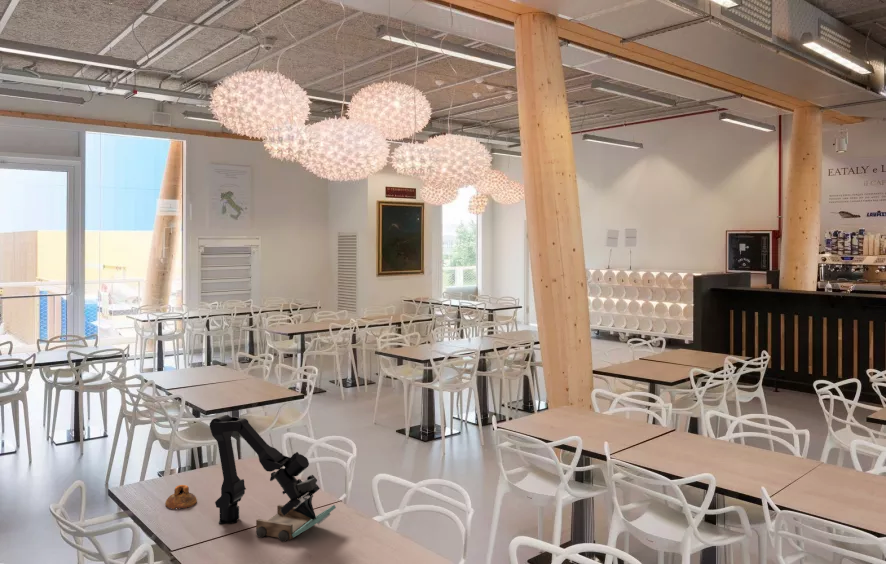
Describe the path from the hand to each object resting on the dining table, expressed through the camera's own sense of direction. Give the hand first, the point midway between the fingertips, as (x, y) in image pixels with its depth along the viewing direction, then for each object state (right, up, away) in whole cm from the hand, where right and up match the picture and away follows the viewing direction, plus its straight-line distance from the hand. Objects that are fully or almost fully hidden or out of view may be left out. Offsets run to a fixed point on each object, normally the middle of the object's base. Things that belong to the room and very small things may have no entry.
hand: (314, 518), depth 236 cm
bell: (-59, -4, +27) cm, 65 cm away
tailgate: (-4, -4, +2) cm, 6 cm away
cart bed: (-12, -5, +4) cm, 14 cm away
